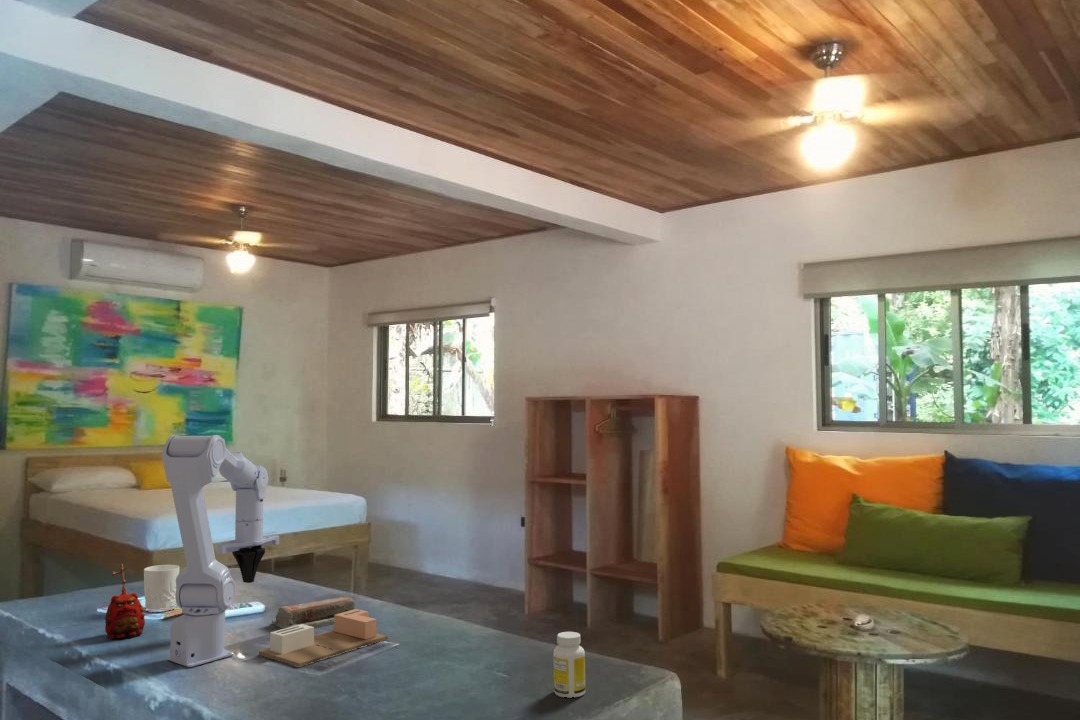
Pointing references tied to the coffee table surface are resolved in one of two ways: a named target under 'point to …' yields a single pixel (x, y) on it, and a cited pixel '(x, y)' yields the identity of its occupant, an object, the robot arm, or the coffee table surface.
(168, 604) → the white cup
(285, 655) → the board
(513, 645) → the coffee table surface
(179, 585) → the robot arm
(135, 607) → the red clay folk toy
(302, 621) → the packaged product
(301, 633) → the white toaster
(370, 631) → the block
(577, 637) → the supplement bottle
